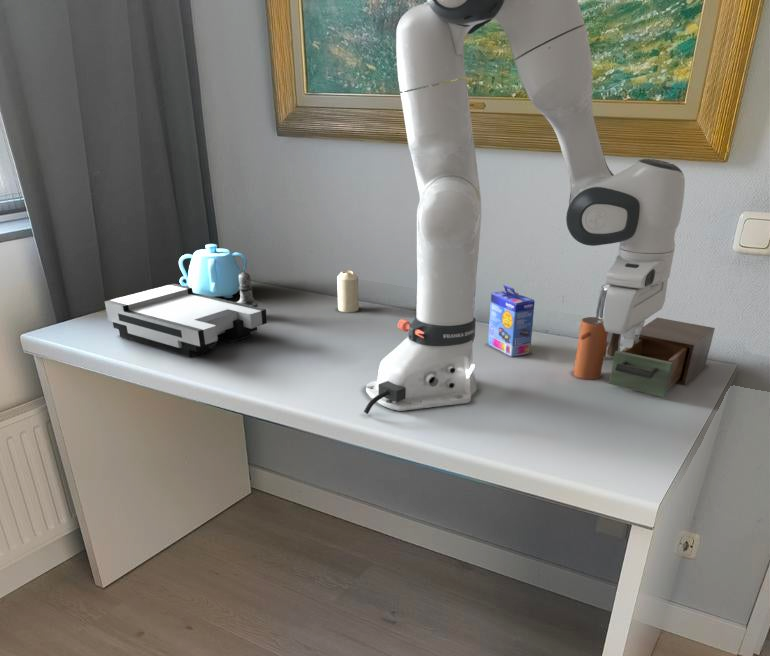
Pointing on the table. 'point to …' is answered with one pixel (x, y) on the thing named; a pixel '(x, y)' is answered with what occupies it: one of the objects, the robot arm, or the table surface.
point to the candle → (347, 292)
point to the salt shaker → (246, 290)
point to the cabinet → (682, 342)
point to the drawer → (649, 366)
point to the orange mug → (590, 348)
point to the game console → (182, 319)
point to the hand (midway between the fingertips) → (630, 345)
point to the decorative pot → (213, 272)
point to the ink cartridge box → (511, 322)
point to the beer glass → (612, 338)
